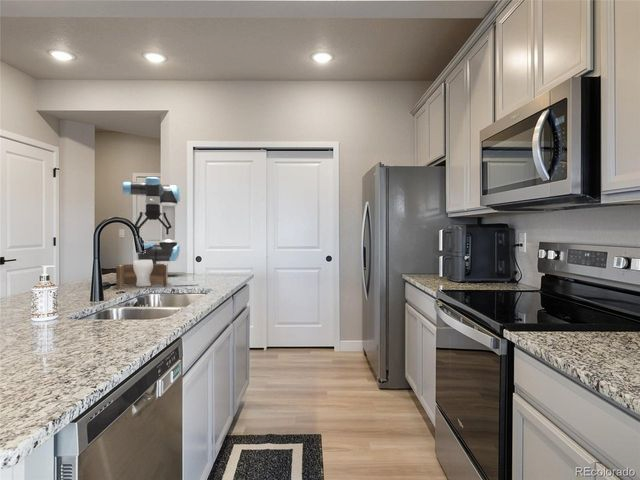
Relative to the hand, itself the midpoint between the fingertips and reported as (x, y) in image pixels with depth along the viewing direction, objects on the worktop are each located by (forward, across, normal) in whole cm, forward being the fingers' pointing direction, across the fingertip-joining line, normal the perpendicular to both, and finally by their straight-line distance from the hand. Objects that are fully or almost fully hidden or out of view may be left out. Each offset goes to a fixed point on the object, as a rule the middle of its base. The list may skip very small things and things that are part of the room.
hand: (153, 240), depth 219 cm
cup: (+27, -6, +2) cm, 28 cm away
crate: (+27, -6, +2) cm, 27 cm away
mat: (+27, +17, 0) cm, 32 cm away
